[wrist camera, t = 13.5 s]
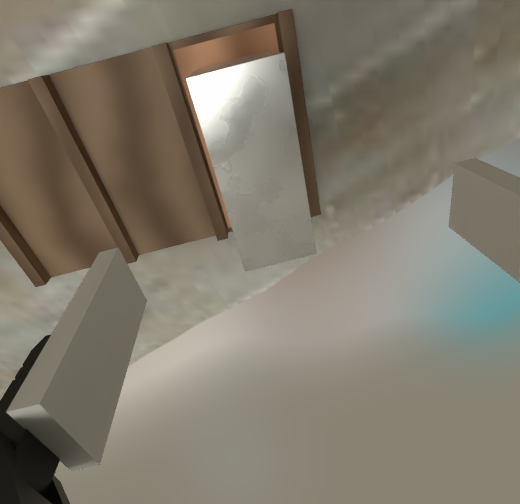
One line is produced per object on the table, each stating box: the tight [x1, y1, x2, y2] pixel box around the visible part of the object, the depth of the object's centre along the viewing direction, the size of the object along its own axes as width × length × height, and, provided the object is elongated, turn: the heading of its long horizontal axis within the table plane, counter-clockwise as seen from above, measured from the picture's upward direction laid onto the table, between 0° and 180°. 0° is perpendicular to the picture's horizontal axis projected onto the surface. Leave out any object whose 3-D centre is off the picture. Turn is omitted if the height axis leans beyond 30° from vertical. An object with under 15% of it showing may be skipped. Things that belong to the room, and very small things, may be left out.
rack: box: [0, 9, 321, 287], centre depth 28 cm, size 28×16×2 cm, turn 103°
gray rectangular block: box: [186, 52, 316, 271], centre depth 24 cm, size 5×12×10 cm, turn 13°
